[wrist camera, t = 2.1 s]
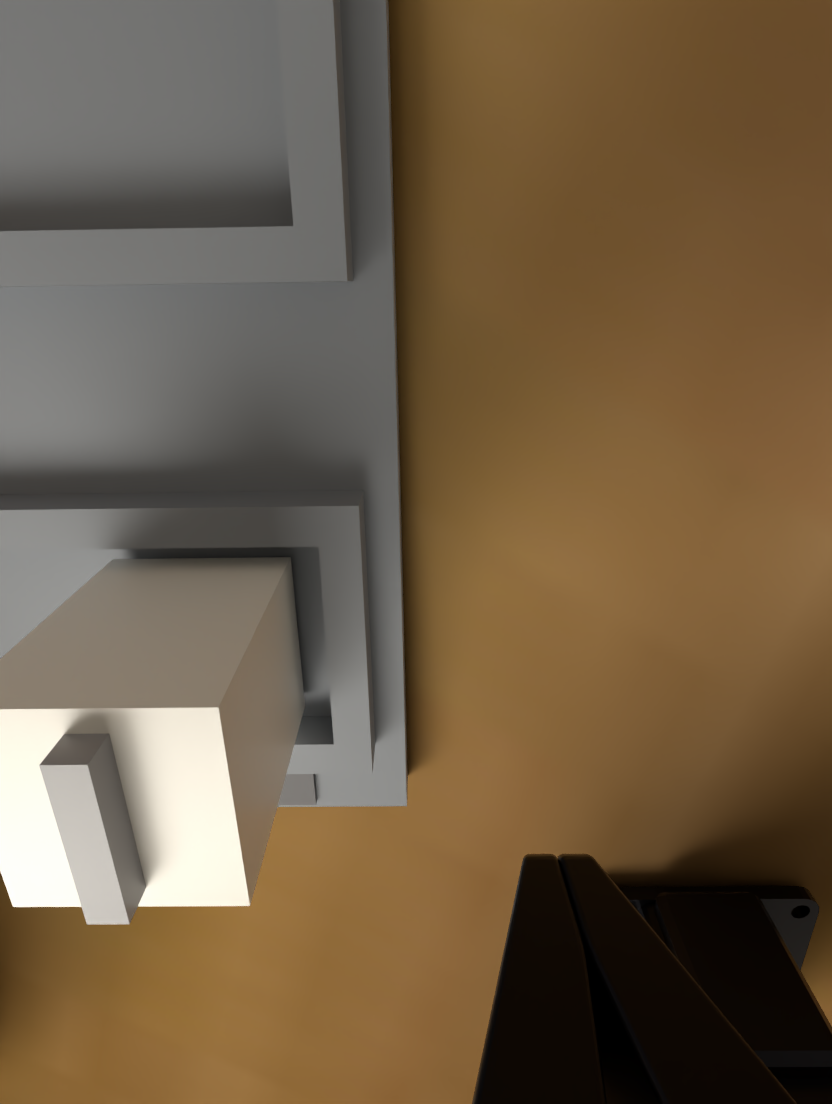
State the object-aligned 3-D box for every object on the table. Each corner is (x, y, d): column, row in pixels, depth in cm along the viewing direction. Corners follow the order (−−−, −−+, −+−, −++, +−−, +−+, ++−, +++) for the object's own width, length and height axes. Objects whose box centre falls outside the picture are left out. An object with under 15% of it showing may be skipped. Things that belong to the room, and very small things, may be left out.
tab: (305, 705, 14) (240, 942, 9) (144, 707, 14) (-11, 944, 9) (291, 557, 13) (204, 737, 8) (113, 558, 13) (-92, 739, 8)
